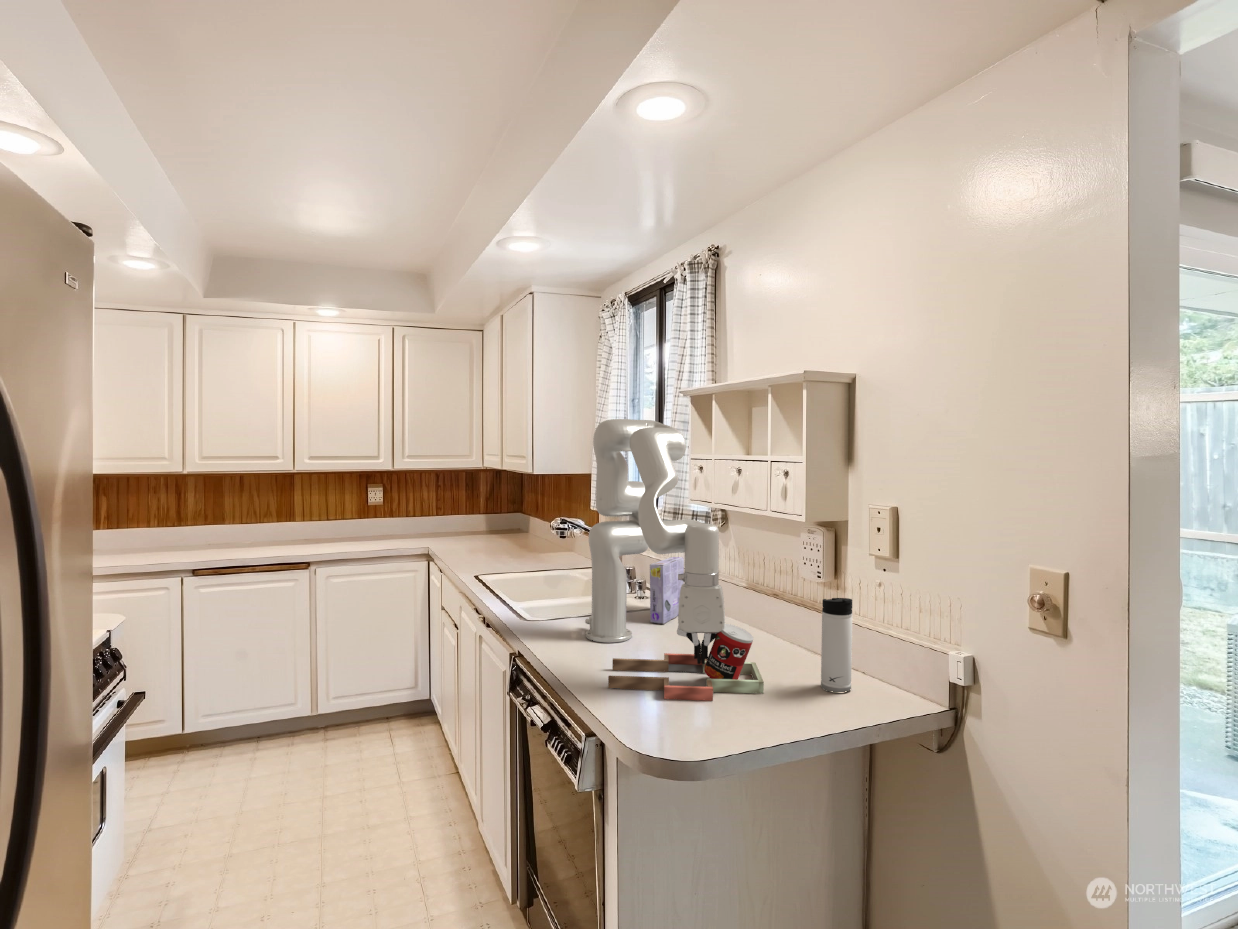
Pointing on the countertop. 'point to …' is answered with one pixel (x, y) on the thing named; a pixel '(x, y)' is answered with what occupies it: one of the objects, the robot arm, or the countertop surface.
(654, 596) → the cake pan box
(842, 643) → the travel mug
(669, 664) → the box
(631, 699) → the countertop surface
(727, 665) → the canned food
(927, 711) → the countertop surface
